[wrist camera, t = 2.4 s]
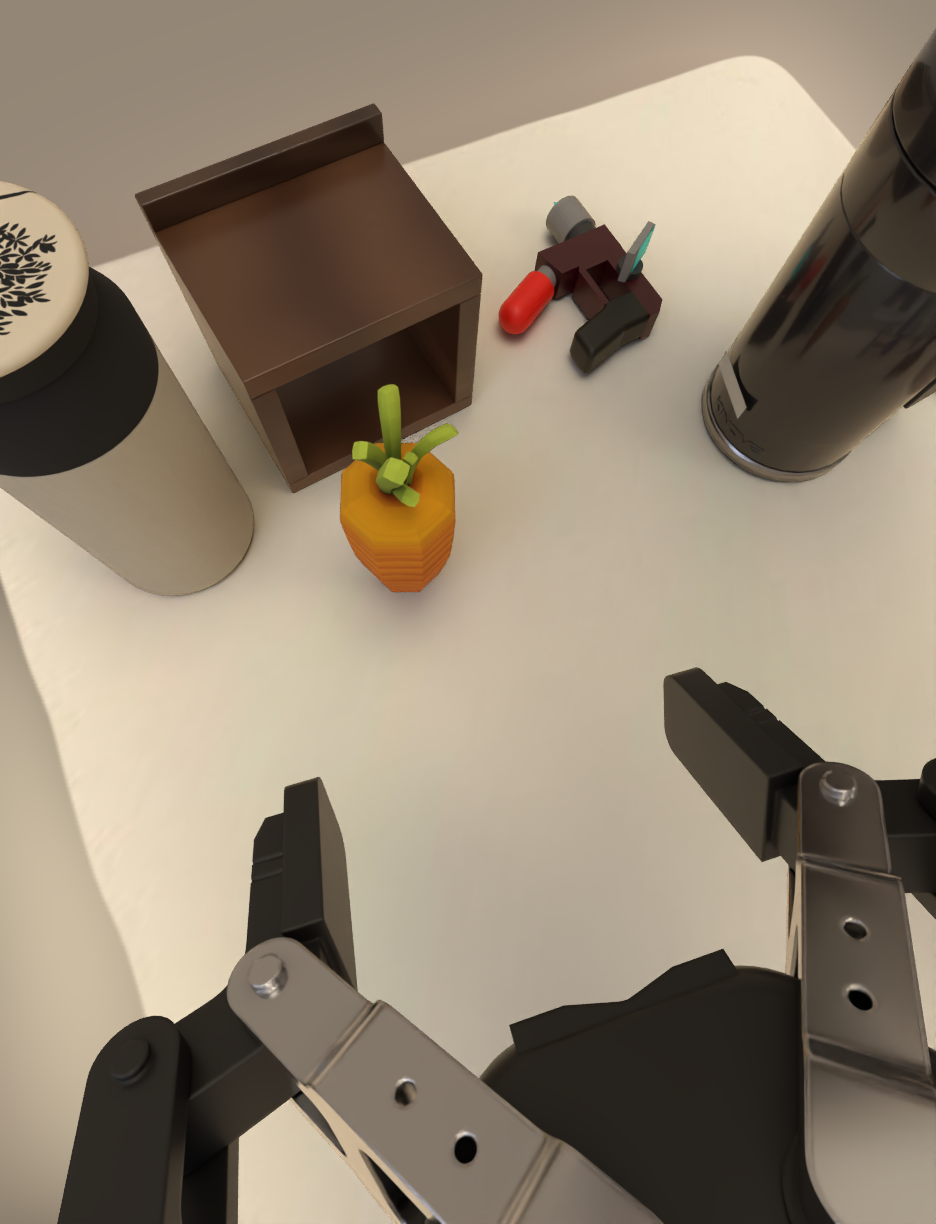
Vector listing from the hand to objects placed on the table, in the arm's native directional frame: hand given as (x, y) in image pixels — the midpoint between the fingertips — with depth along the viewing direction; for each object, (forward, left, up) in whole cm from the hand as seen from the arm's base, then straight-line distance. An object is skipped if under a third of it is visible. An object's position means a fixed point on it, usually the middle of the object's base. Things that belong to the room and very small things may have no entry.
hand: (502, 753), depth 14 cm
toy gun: (-21, -23, -19) cm, 36 cm away
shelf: (-6, -24, -19) cm, 31 cm away
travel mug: (+6, -20, -19) cm, 28 cm away
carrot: (-3, -11, -19) cm, 22 cm away
